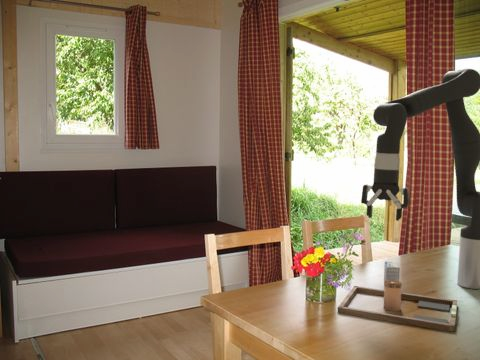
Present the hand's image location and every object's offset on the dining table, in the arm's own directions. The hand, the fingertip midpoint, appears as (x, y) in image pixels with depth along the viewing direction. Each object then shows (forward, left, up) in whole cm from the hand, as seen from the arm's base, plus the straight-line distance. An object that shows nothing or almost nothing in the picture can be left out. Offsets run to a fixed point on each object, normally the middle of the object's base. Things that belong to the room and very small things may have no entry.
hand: (383, 218), depth 162 cm
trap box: (+7, +7, -26) cm, 28 cm away
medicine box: (-12, +2, -26) cm, 29 cm away
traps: (+7, +16, -26) cm, 31 cm away
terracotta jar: (+7, +5, -26) cm, 27 cm away
